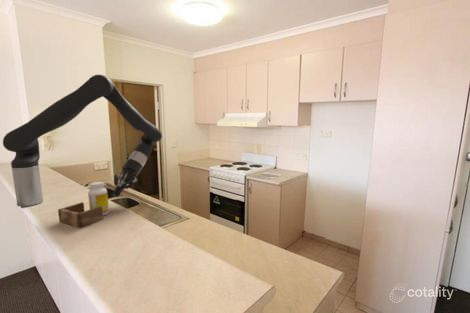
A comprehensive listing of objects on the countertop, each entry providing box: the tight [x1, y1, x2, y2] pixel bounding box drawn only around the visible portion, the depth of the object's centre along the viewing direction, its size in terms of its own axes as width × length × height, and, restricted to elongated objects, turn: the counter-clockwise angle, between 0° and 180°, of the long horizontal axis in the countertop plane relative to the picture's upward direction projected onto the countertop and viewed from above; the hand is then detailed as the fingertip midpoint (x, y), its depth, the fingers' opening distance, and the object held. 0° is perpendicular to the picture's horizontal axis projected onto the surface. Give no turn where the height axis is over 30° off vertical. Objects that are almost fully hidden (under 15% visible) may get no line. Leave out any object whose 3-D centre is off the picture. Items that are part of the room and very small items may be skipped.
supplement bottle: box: [87, 181, 110, 216], centre depth 97 cm, size 7×7×13 cm
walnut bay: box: [57, 202, 104, 229], centre depth 91 cm, size 12×9×5 cm
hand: (115, 195), depth 104 cm, fingers closed
